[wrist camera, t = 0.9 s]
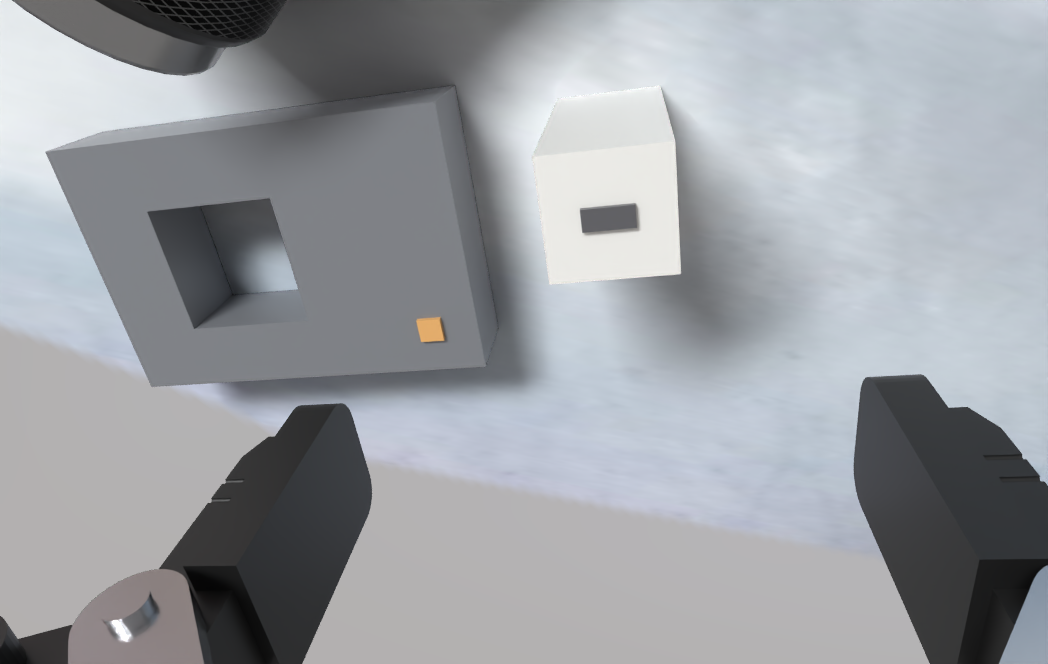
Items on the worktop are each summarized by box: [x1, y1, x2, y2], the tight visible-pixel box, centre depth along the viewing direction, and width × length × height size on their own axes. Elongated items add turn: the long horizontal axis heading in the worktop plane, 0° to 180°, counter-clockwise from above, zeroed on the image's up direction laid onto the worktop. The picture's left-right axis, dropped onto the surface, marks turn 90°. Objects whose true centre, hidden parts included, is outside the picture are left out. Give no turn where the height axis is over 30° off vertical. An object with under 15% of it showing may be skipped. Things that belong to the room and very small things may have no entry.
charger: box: [532, 86, 681, 285], centre depth 25 cm, size 4×4×9 cm
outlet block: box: [46, 85, 498, 387], centre depth 30 cm, size 16×11×4 cm
